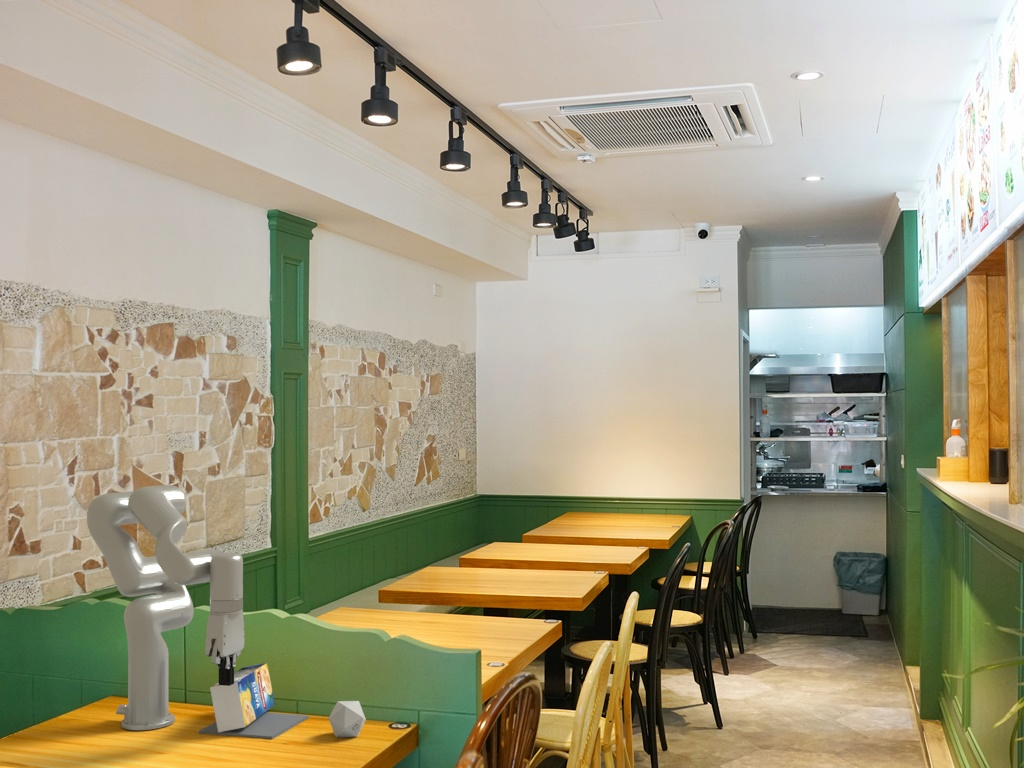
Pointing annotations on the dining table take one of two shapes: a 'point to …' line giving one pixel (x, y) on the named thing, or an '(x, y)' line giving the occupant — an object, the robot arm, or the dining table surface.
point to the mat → (261, 726)
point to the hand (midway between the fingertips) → (226, 684)
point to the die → (347, 719)
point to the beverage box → (242, 698)
